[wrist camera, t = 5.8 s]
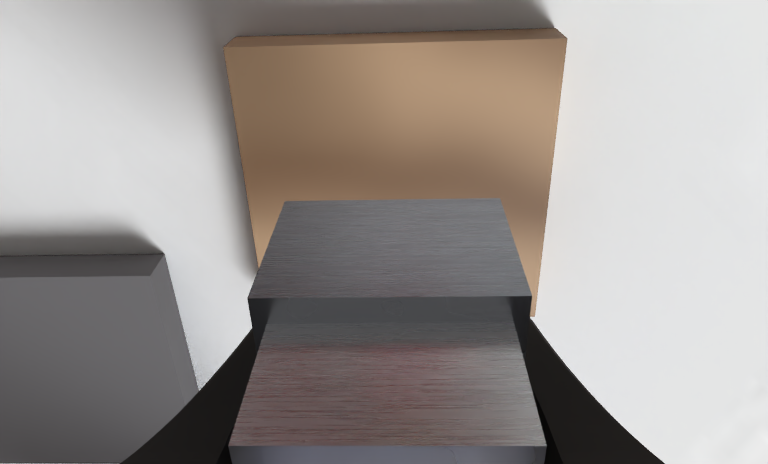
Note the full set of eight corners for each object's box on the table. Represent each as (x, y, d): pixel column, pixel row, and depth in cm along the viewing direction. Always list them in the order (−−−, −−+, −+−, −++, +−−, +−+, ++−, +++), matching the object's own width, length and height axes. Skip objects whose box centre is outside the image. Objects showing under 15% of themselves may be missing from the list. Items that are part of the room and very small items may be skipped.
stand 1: (209, 436, 28) (200, 463, 27) (1, 436, 28) (-19, 463, 27) (164, 254, 23) (150, 275, 22) (-89, 257, 23) (-117, 279, 22)
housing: (484, 408, 15) (527, 673, 10) (309, 408, 16) (263, 670, 10) (500, 197, 12) (572, 416, 7) (284, 200, 13) (202, 417, 7)
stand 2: (527, 292, 23) (534, 316, 22) (274, 295, 24) (266, 318, 22) (555, 28, 18) (567, 38, 17) (235, 36, 19) (223, 47, 18)
